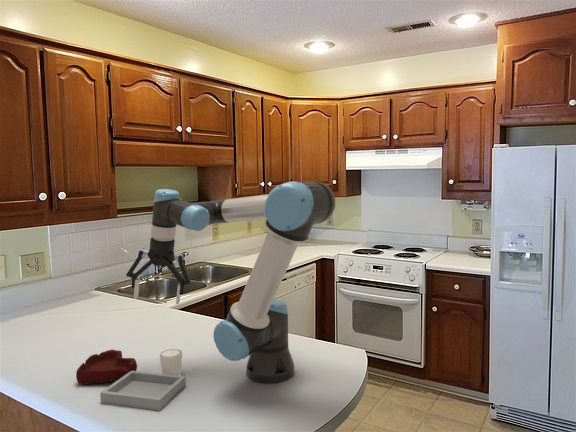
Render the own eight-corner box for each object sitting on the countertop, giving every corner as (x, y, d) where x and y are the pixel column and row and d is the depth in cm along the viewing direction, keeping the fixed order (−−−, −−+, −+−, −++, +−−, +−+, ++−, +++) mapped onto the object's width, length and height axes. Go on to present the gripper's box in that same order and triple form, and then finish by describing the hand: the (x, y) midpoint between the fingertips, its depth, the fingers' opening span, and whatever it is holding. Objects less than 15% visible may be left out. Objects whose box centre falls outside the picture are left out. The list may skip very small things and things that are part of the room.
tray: (185, 386, 134) (185, 376, 134) (159, 410, 120) (159, 400, 120) (131, 379, 139) (131, 370, 138) (100, 403, 125) (100, 392, 125)
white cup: (160, 380, 138) (159, 358, 137) (160, 371, 144) (159, 350, 144) (183, 377, 140) (182, 355, 139) (182, 368, 146) (181, 347, 146)
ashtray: (66, 377, 142) (65, 361, 142) (116, 361, 154) (116, 347, 153) (89, 395, 130) (87, 379, 129) (141, 377, 141) (141, 361, 141)
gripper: (203, 239, 148) (196, 300, 152) (126, 229, 146) (121, 291, 151) (200, 246, 141) (193, 309, 145) (119, 235, 139) (114, 299, 143)
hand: (156, 300), depth 148 cm, fingers open, 13 cm apart
